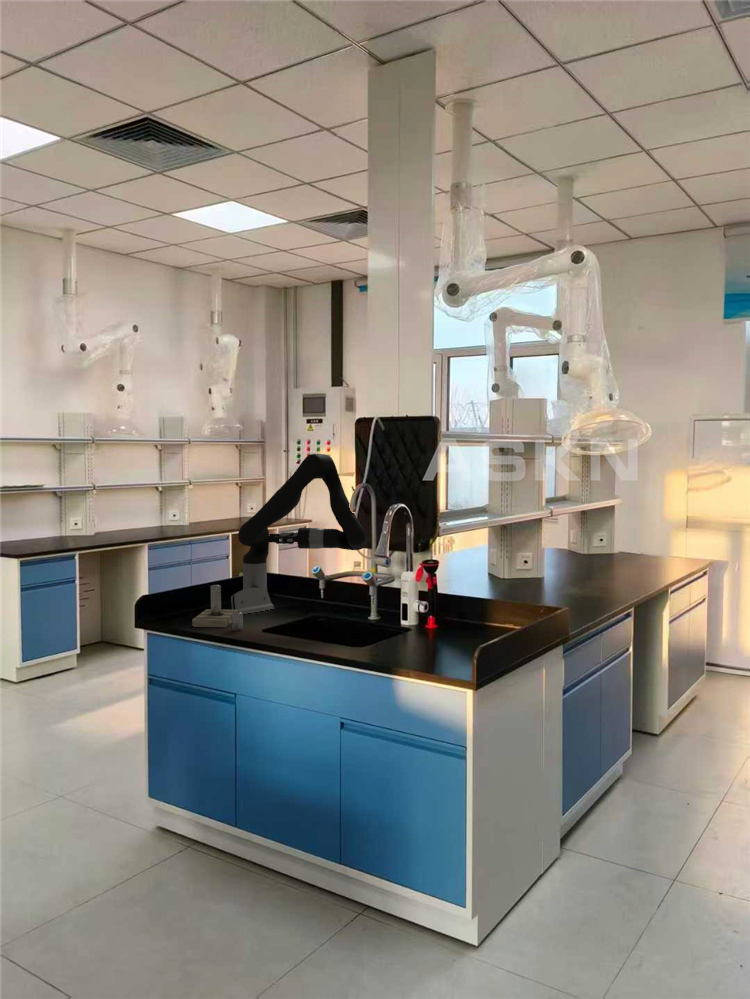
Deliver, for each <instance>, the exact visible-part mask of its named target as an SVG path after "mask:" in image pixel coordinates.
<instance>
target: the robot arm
mask: <svg viewBox="0 0 750 999" xmlns="http://www.w3.org/2000/svg"><path fill="white" fill-rule="evenodd" d="M316 479H320V480H321V479H322V481H323V482H324V484H325V486H326V487H327V489H328V493H329V506H330V509H331V512H332V514H333V517H334V518H335V520H336V522H337V523H338V525H339V527H341V529H342V531H341V530H340V529H338V528H323V527H322V528H321V527H299V528H297V532H294V531H293V532H292V531H291V532H287V531H286V532H280V533H270V531H269V528H268V527H270V526H271V525H273V524H275V523H277V522H279V521H280V520H282V519H284V518H285V517H286V516H287V515H289V514H290V513H291V512H292V511H293V510H294V509H295V508H296V507H297V506H298V505H299V503H300V501H301V498H302V493H303V491H304V490H305V488H306V487H307V486H308V485H309V484H310V483H311V482H312V481H313V480H316ZM349 504H350V505H351V503H350V501H349V500H348V497H347V494H346V493H345V491H344V488H343V484H342V480H341V479H340V476H339V472H338V469H337V466H336V463H335V462H334V459H333V458H332V457H331V456H330V455H328V454H324V453H311V454H309V455H307V456H306V457H305V458H304V459H303V460H302V462H301V463H300V464H299V466H298V467H297V468H296V470H295V471H294V472H293V473H292V475H291V476H290V477H289V478H288V479H287V480H286V481H285V482H284V483H283V485H282V486H280V487H279V489H277V491H276V492H275V493H274V494H273V495H272V496H271V497H270V498H269V499H268V500H267V502H265V504H263V505H262V507H261V508H260V509H259V510H258V511H257V512H256V513H255V514H254V515H253V516H252V517H250V518H249V519H248V520H247V521H245V522H244V523H243V524H242V525H241V526H240V528H239V529H238V534H237V537H238V541H239V543H240V544H241V545H243V546H247V547H249V550H248V551H247V552H246V553H245V554H244V555H243V557H242V574H243V575H242V577H243V578H242V579H243V580H242V586H243V587H242V590H244V589H248V588H262V589H266V590H267V591H268V583H267V581H268V578H267V577H268V575H267V574H268V573H267V572H268V571H267V565H268V564H267V559H268V556H269V550H270V548H269V547H270V543H275V544H276V545H279V544H281V545H293V544H294V543H297V548H298V549H300V550H301V549H302V550H303V549H308V550H309V549H311V550H312V549H315V550H317V549H318V550H319V549H340V550H346V551H360V550H362V549H363V550H364V548H365V547H366V546H367V544H368V537H367V534H366V533H367V532H365V530H364V527H363V525H362V524H361V523H360V521H359V520H358V517H357V515H356V513H355V512H354V513H352V512H351V511H350V508H349Z"/></svg>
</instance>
